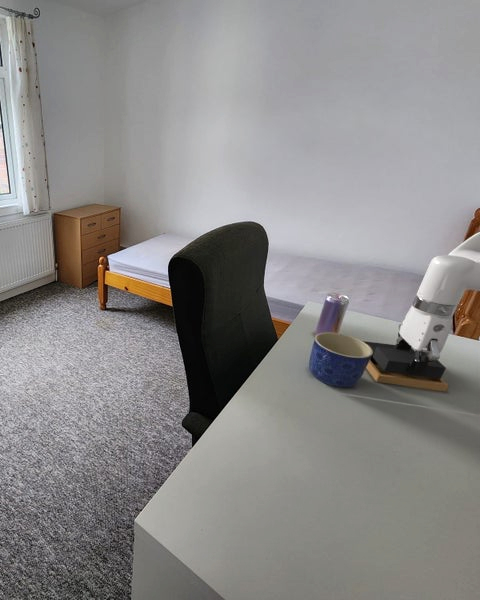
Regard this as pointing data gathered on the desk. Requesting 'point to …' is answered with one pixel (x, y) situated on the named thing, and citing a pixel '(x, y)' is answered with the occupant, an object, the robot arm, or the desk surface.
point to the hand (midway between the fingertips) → (406, 364)
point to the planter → (338, 359)
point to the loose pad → (405, 362)
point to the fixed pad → (374, 345)
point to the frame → (406, 379)
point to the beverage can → (332, 313)
